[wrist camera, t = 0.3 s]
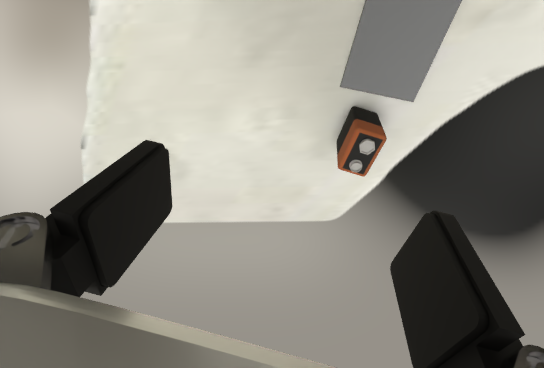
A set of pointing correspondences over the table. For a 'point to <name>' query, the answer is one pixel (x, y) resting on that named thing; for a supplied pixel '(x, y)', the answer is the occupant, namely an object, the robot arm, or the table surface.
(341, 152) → the battery
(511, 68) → the table surface
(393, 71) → the mat
